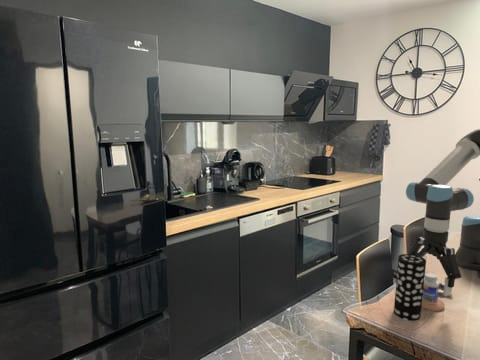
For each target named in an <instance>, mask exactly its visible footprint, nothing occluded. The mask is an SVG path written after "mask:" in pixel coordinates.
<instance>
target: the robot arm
mask: <svg viewBox="0 0 480 360" xmlns="http://www.w3.org/2000/svg"><path fill="white" fill-rule="evenodd" d="M479 156H480V128H477V129H475V130H473V131H471V132H469V133H468V134H466V135H465V136H463V137H461V139H459V141H457V143H456V144H455V147H454V149H453V150H452V151H451V152H449V154H447V156H445V157H444V158H443V160H442V161H440V162H439V163H438V164H437V165H436V166H435V167H434V168H433V169H432V170H431V171H430V172H429V173H428V174H427V175H426V176H425V177H424V178H423V179H422V180H421V181H420V182H418V181H412V182H410V183H408V185H407V186H406V189H405V195H406V198H407V199H408V200H409V201H413V202H416V203H420V204H426V206H425V215H424V224H423V227H424V229H423V235H422V236H417V237H416V238H415V242H414V245H413V246H412V247H411V249H410V251H409V253H408V254H411V255H416V256H420V257H422V258H424V257H425V256H426V255H427V254H428V255H432V256H433V257H436V259H437V260H439V262H440V265H441V266H442V269H443V271H444V273H445V274H446V276H445V277H444V289H443V291H444V293H443V295H444V296H443V297H448V296H449V295H451V293H453V292H452V290H453V288H454V287H455V282H456V280H458V279H461V278H462V274H461V271H460V268H459V267H462V268H464V269H469V270H474V271H478V270H480V215H478V214H477V215H476V214H475V215H474V214H473V215H466V216H464V217H463V218H462V222H461V223H462V224H461V231H460V240H459V246H458V248H457V250H455V248H454V247H447V243H448V239H449V230H450V223H451V222H450V220H451V213H452V212H455V211H461V210H465V209H468V208H470V207H471V206H472V205H473V203H474V201H475V197H474V195H473V193H472V191H471V190H469V189H468V188H461V187H458V188H457V187H456V188H453V187H452V186H450V185H448V183H450V182H451V180H453V179H454V178H455V177H456V176H458V174H459V172H461V171H462V170H463V168H465V167H466V165H468V164H469V163H470V162H471V161H472V160H475V159H477V158H478V157H479ZM422 246H424V247H422ZM421 247H422V248H421Z"/></svg>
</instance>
